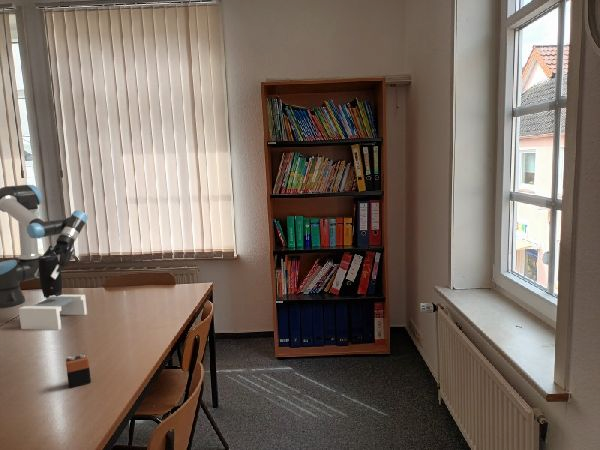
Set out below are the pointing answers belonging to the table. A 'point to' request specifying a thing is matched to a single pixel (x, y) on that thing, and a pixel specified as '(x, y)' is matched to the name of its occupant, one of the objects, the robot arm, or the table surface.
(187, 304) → the table surface
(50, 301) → the square spool
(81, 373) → the battery
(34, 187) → the robot arm
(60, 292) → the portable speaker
